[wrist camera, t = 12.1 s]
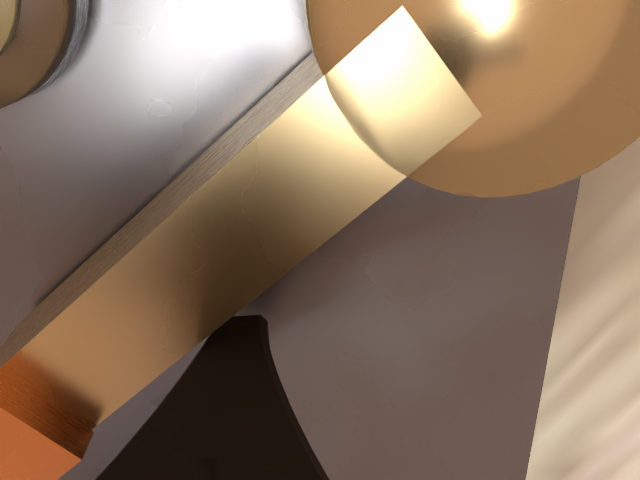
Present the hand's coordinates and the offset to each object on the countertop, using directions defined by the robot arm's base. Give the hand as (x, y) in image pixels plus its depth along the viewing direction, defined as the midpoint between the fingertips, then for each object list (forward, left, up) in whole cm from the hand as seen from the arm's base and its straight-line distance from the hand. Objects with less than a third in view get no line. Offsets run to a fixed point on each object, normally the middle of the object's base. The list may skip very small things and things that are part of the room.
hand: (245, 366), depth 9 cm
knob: (+3, -1, -1) cm, 4 cm away
